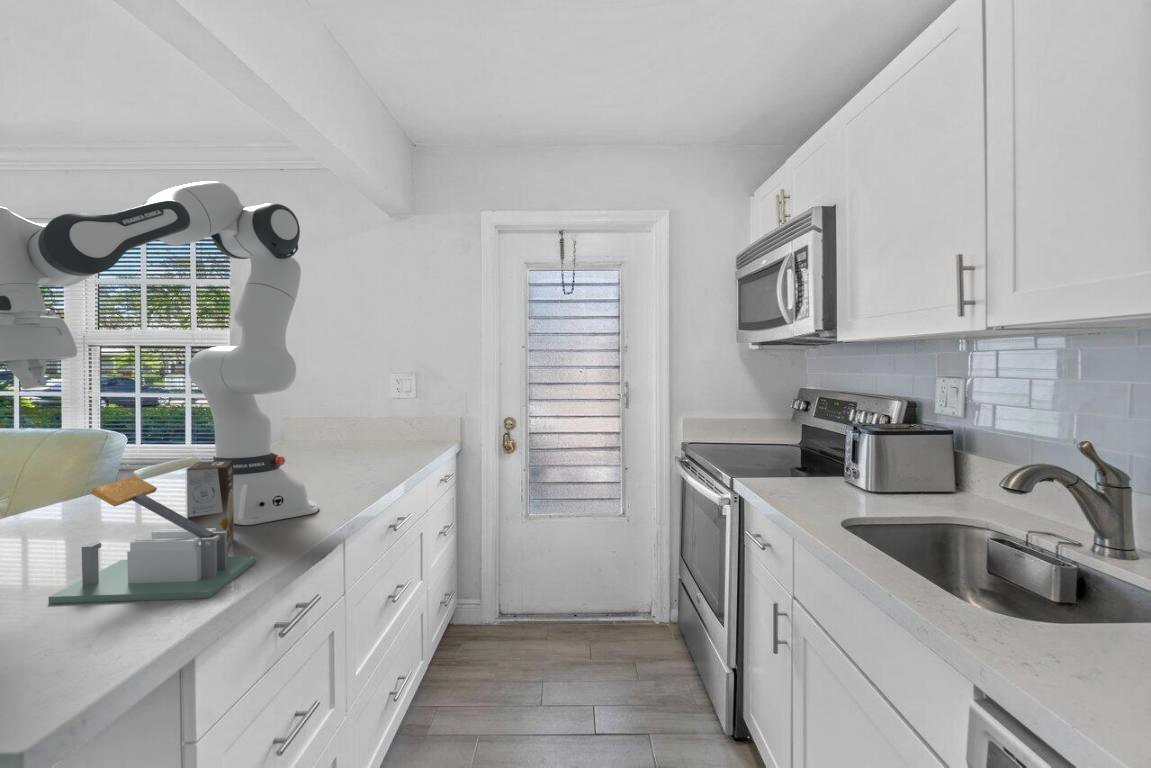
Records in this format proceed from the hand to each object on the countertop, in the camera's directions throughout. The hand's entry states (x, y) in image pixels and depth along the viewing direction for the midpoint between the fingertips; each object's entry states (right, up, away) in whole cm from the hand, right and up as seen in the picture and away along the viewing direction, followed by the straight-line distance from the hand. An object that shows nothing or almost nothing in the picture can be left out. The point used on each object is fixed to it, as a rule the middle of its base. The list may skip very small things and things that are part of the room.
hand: (35, 387), depth 98 cm
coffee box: (+22, -31, +13) cm, 40 cm away
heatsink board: (+24, -31, -4) cm, 40 cm away
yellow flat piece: (+24, -20, -4) cm, 32 cm away
